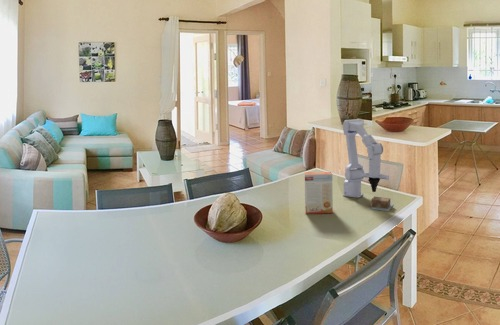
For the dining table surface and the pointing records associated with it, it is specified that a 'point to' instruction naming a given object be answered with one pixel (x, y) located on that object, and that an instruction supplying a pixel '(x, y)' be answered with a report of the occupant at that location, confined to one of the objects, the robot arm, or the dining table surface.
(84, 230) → the dining table surface
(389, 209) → the mat
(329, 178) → the cracker box
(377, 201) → the brown wooden block
